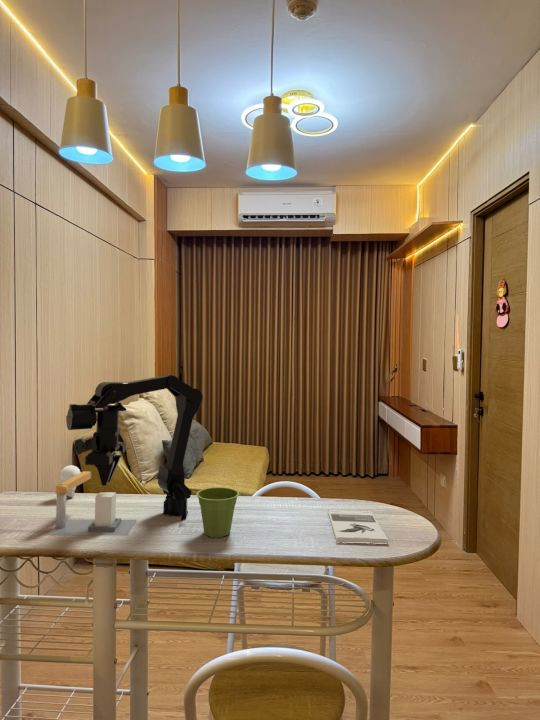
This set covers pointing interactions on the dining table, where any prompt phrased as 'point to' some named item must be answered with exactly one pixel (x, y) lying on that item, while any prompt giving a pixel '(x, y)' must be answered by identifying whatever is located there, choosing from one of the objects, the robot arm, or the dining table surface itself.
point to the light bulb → (67, 474)
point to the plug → (105, 509)
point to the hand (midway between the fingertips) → (105, 483)
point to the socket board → (85, 523)
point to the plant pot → (217, 510)
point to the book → (356, 527)
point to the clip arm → (72, 482)
